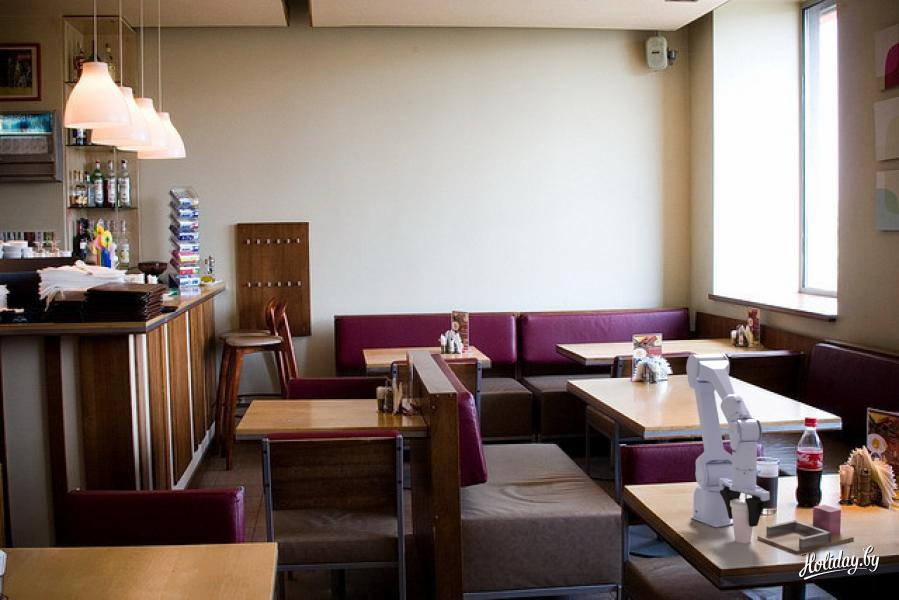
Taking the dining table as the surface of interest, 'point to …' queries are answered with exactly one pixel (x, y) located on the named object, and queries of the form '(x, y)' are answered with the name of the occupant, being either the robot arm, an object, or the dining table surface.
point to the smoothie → (741, 520)
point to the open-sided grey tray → (808, 532)
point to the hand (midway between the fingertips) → (743, 522)
